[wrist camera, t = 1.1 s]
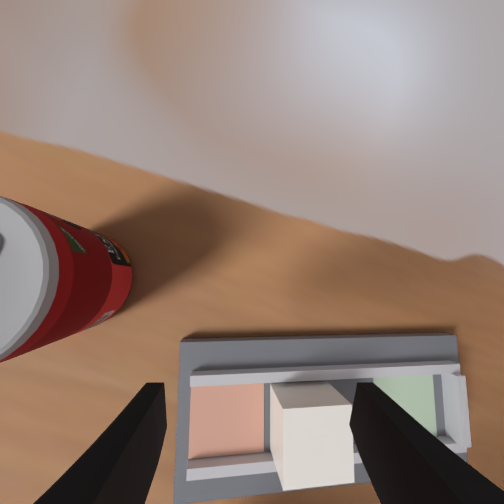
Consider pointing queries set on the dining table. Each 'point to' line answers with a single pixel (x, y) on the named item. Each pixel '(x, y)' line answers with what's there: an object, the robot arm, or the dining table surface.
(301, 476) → the white block
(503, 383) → the dining table surface
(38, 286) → the canned food
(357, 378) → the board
